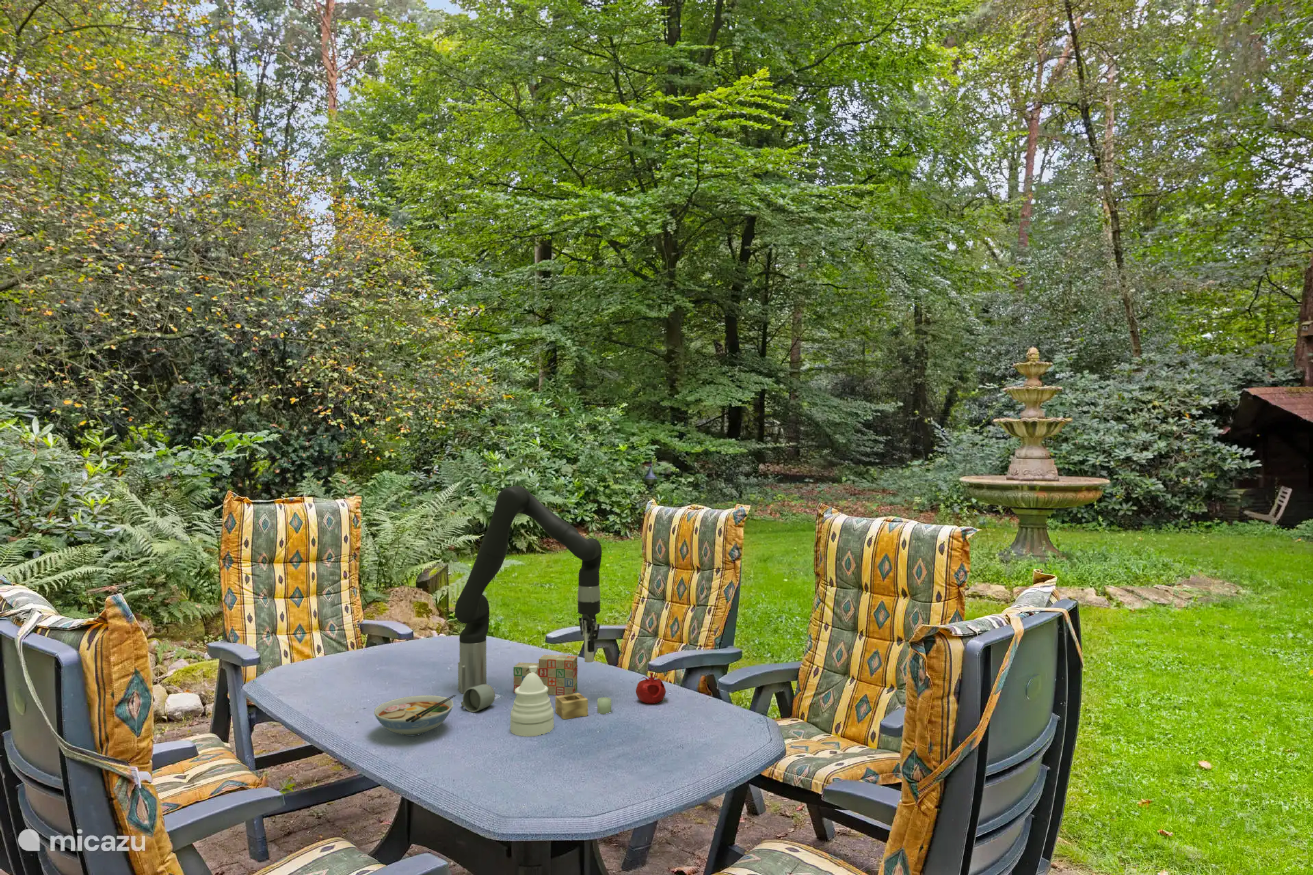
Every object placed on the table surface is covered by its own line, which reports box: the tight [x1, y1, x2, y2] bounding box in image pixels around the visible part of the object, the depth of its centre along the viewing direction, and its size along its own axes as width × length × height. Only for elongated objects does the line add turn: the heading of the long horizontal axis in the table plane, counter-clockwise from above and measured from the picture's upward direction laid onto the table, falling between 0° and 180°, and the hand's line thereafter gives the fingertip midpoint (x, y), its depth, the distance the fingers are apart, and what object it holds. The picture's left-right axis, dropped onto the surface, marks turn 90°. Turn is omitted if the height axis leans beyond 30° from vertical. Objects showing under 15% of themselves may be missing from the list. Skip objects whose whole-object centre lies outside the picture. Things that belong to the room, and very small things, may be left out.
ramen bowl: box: [373, 694, 457, 736], centre depth 231 cm, size 25×23×8 cm
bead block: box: [554, 692, 589, 720], centre depth 245 cm, size 8×8×5 cm
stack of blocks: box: [513, 654, 578, 696], centre depth 268 cm, size 21×6×12 cm, turn 81°
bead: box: [596, 696, 612, 715], centre depth 247 cm, size 4×4×4 cm
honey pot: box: [509, 666, 555, 737], centre depth 232 cm, size 13×13×18 cm
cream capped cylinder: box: [584, 630, 595, 663], centre depth 259 cm, size 3×3×12 cm
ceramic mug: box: [460, 684, 496, 713], centre depth 252 cm, size 11×8×8 cm
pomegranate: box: [635, 672, 667, 705], centre depth 257 cm, size 10×10×9 cm
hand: (589, 650), depth 259 cm, fingers closed on cream capped cylinder, 3 cm apart
